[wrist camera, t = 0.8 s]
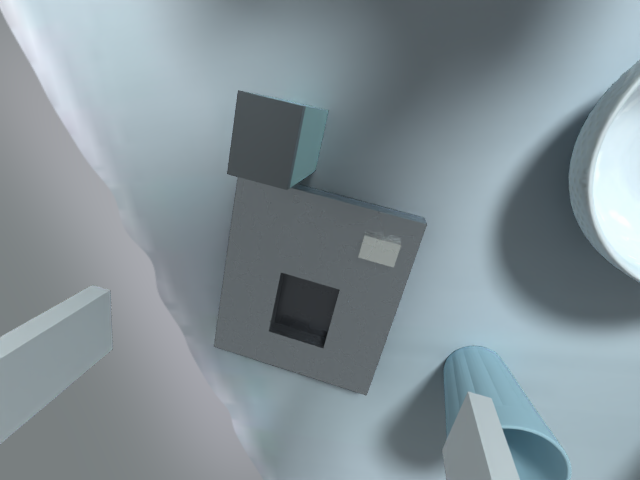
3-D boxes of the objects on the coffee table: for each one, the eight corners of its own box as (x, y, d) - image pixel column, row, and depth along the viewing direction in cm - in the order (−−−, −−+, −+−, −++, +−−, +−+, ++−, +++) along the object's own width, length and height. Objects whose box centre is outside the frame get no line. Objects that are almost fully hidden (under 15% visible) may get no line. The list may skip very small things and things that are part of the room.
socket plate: (247, 170, 31) (234, 175, 29) (424, 217, 30) (427, 227, 27) (222, 335, 38) (210, 351, 35) (367, 381, 36) (365, 401, 34)
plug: (281, 99, 29) (237, 90, 20) (328, 110, 28) (303, 106, 20) (271, 159, 31) (227, 174, 22) (315, 170, 30) (287, 190, 22)
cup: (443, 408, 35) (464, 516, 26) (421, 345, 34) (434, 435, 24) (524, 395, 33) (580, 508, 24) (505, 327, 32) (557, 418, 22)
